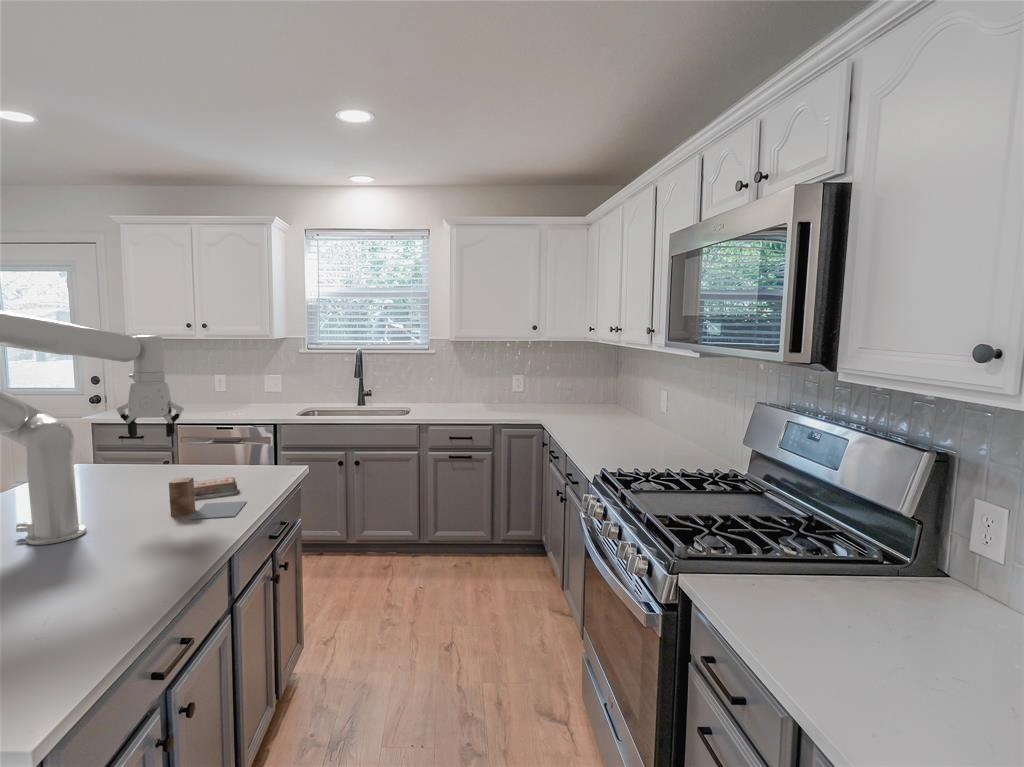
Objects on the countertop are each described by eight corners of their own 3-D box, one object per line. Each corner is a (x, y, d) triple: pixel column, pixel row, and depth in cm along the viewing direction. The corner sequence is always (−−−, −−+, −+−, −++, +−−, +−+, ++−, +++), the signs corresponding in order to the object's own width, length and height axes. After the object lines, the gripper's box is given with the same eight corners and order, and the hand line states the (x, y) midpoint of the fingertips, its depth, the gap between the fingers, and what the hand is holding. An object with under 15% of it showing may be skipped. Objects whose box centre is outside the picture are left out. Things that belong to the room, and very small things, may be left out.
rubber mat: (189, 519, 164) (189, 518, 164) (205, 504, 178) (205, 503, 178) (234, 516, 167) (234, 515, 167) (246, 502, 180) (246, 501, 180)
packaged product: (235, 473, 197) (237, 481, 188) (236, 487, 197) (238, 495, 189) (174, 480, 188) (173, 488, 180) (175, 495, 189) (174, 503, 180)
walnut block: (170, 516, 167) (168, 482, 166) (177, 510, 172) (175, 478, 171) (189, 515, 168) (187, 481, 167) (195, 509, 173) (193, 477, 172)
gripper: (109, 378, 160) (112, 439, 162) (177, 379, 163) (179, 438, 165) (122, 376, 167) (124, 434, 169) (187, 377, 171) (188, 433, 172)
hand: (151, 436), depth 167 cm, fingers open, 9 cm apart
